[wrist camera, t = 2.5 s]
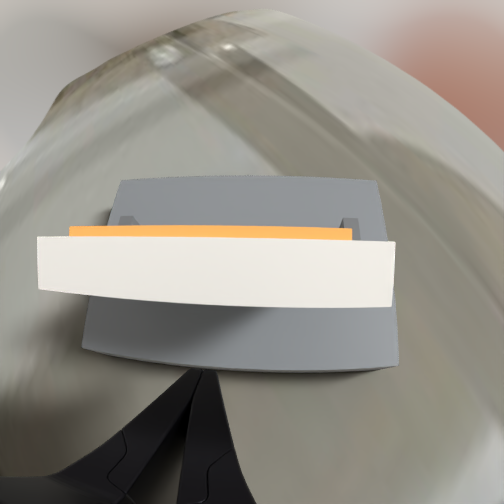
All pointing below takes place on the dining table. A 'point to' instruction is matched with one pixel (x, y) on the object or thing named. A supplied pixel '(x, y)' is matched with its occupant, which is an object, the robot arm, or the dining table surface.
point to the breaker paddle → (220, 265)
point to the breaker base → (247, 317)
